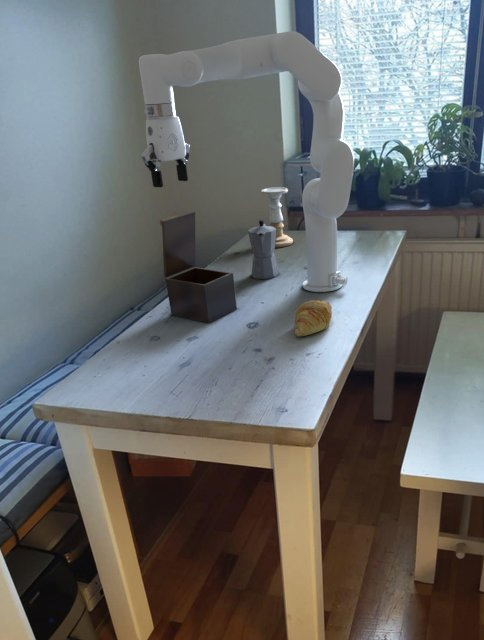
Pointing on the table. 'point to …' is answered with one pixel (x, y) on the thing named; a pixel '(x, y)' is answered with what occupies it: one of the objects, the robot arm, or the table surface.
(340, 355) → the table surface
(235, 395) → the table surface
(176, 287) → the chest
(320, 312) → the croissant
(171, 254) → the lid
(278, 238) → the candle holder
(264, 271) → the coffeepot
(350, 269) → the table surface
